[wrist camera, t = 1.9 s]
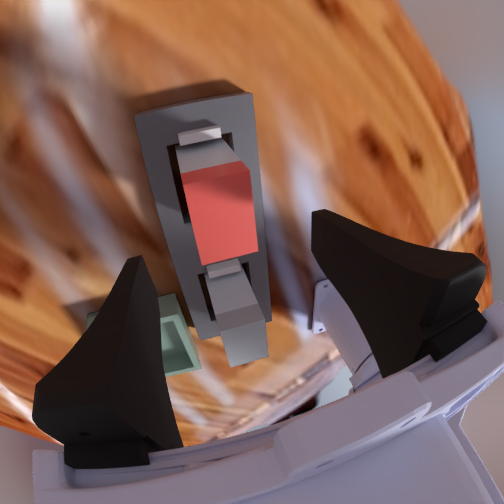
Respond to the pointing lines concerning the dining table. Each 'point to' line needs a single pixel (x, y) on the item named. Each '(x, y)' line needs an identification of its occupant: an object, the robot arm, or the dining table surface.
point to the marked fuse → (218, 200)
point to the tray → (172, 337)
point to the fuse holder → (179, 225)
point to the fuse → (238, 317)
